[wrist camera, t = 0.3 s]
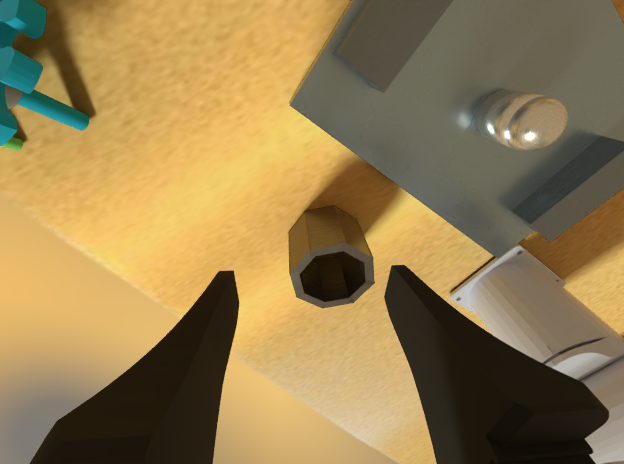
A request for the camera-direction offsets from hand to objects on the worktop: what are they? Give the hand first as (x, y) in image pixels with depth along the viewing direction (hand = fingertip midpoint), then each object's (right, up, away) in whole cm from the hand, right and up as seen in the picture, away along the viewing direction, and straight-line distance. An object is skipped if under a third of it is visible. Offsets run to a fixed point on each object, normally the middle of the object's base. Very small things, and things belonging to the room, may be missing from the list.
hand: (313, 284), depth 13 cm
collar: (+1, +2, +10) cm, 10 cm away
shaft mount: (+12, +11, +6) cm, 17 cm away
